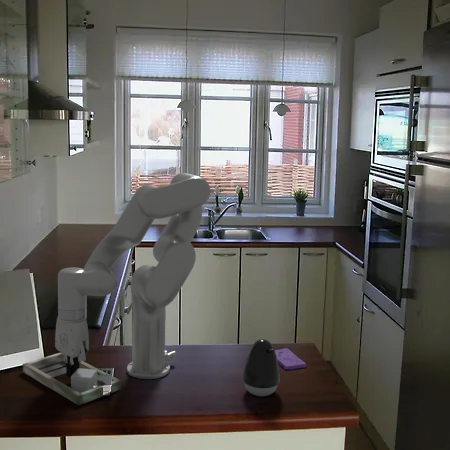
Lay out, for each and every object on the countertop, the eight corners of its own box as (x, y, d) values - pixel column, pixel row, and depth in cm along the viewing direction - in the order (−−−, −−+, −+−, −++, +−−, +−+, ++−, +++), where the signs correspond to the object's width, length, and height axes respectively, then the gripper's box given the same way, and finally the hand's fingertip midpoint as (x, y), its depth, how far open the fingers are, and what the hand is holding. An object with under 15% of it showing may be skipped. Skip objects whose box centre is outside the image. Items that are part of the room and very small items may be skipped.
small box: (78, 384, 160) (77, 367, 159) (98, 385, 159) (98, 369, 159) (70, 393, 154) (70, 376, 154) (91, 395, 154) (91, 378, 153)
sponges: (287, 353, 188) (287, 348, 188) (306, 368, 177) (306, 363, 176) (267, 355, 186) (268, 350, 185) (285, 371, 174) (286, 365, 174)
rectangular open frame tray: (63, 359, 176) (63, 351, 176) (120, 389, 158) (120, 380, 157) (23, 372, 166) (22, 363, 166) (78, 405, 148) (78, 396, 148)
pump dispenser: (254, 404, 152) (256, 349, 149) (235, 387, 161) (237, 336, 159) (286, 396, 157) (289, 343, 154) (266, 381, 166) (269, 331, 163)
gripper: (45, 309, 160) (46, 371, 163) (76, 323, 150) (76, 389, 153) (69, 304, 165) (69, 364, 169) (100, 316, 156) (100, 380, 159)
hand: (72, 376), depth 161 cm, fingers closed
